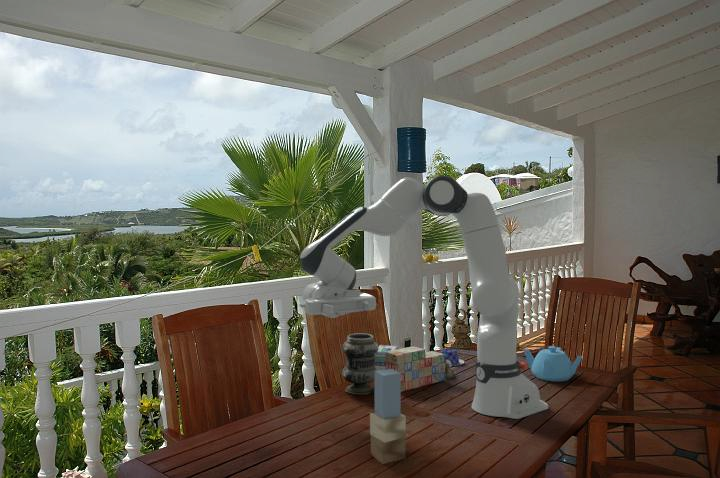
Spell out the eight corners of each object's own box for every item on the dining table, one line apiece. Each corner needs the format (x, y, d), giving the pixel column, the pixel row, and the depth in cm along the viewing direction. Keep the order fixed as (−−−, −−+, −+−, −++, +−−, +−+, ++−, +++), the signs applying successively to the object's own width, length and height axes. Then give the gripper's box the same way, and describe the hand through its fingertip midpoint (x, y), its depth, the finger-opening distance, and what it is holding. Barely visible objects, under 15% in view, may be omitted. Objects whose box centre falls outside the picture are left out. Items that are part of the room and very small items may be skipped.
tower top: (390, 429, 134) (390, 408, 134) (405, 437, 129) (405, 415, 129) (370, 434, 131) (369, 413, 130) (384, 442, 126) (384, 420, 125)
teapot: (585, 382, 189) (585, 350, 189) (545, 384, 186) (545, 352, 186) (559, 370, 204) (559, 341, 204) (522, 372, 201) (522, 343, 201)
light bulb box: (394, 383, 188) (394, 352, 188) (374, 382, 190) (374, 351, 189) (398, 375, 199) (398, 345, 198) (379, 374, 200) (379, 344, 200)
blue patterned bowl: (428, 364, 214) (428, 351, 214) (441, 358, 224) (440, 345, 224) (457, 369, 208) (457, 355, 208) (469, 362, 218) (469, 348, 218)
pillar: (391, 410, 132) (391, 368, 132) (400, 416, 128) (400, 373, 128) (374, 412, 131) (374, 370, 130) (383, 419, 127) (383, 375, 126)
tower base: (393, 449, 134) (393, 429, 134) (405, 459, 128) (405, 438, 128) (370, 454, 131) (370, 433, 131) (382, 464, 126) (382, 442, 126)
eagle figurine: (427, 370, 200) (434, 372, 192) (436, 352, 202) (444, 354, 193) (445, 381, 201) (453, 383, 192) (454, 363, 202) (462, 365, 194)
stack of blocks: (432, 376, 196) (432, 342, 195) (445, 380, 191) (445, 345, 190) (385, 388, 183) (385, 351, 183) (397, 392, 178) (397, 354, 178)
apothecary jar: (366, 398, 173) (366, 341, 172) (334, 392, 179) (334, 337, 178) (385, 388, 183) (385, 334, 182) (354, 382, 189) (354, 330, 189)
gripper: (297, 293, 155) (314, 299, 143) (363, 289, 164) (384, 294, 151) (297, 315, 155) (314, 323, 143) (363, 310, 164) (385, 317, 151)
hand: (351, 308), depth 147 cm, fingers open, 8 cm apart
